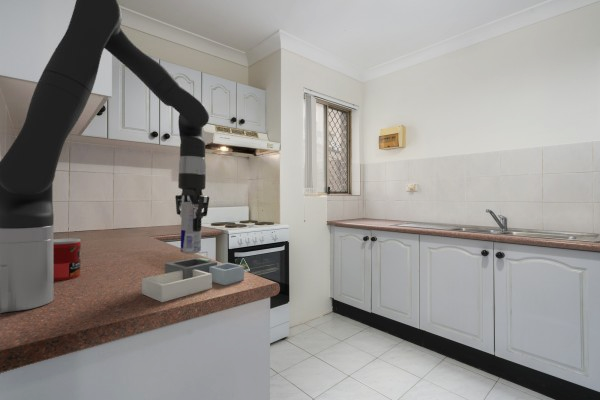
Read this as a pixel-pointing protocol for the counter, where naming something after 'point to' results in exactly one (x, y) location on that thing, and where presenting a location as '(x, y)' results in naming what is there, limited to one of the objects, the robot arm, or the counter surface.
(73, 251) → the canned food
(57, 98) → the robot arm
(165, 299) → the trough
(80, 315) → the counter surface
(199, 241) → the upright juice carton
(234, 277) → the blue-grey square bin
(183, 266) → the dark grey square bin
